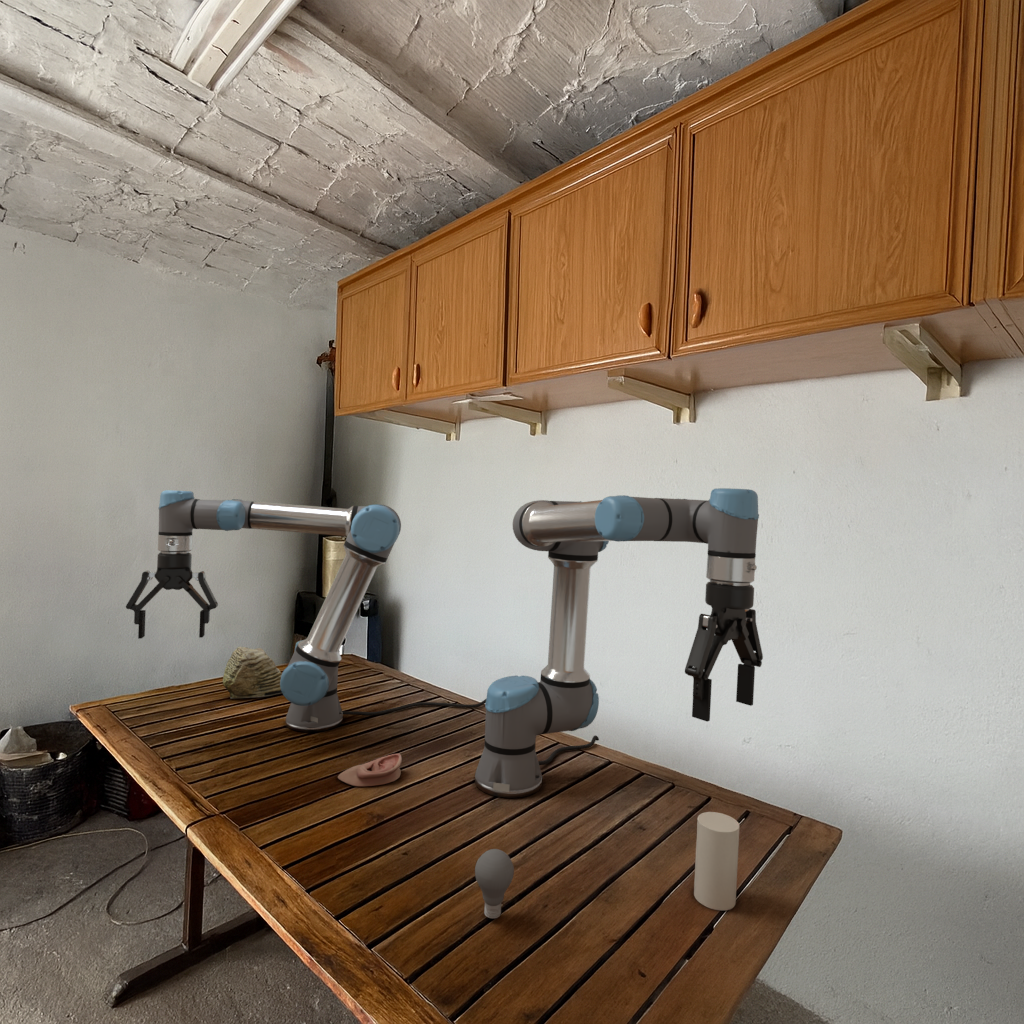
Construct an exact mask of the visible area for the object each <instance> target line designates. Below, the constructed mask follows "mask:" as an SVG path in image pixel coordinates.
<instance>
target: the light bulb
mask: <svg viewBox="0 0 1024 1024" xmlns="http://www.w3.org/2000/svg"><path fill="white" fill-rule="evenodd" d="M514 874H515V867H514V863H513V861H512V859H511V857H510V856H509V855H508V854H507V853H506V852H505V851H503V850H501V849H498V848H491V849H487V850H486V851H484V852H483V853H482V854H481V855H480V856H479V857H478V859H477V861H476V863H475V867H474V876H475V880H476V882H477V884H478V886H479V888H480V890H481V893H482V899H483V901H484V910H483V911H484V912H483V914H484V916H485V917H487V918H489V919H498V918H499V917H501V914H502V903H503V901H504V898H505V893H506V891H507V890H508V888H509V887H510V885H511V883H512V882H513V879H514V876H515V875H514Z"/></svg>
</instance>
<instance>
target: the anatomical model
mask: <svg viewBox="0 0 1024 1024" xmlns="http://www.w3.org/2000/svg"><path fill="white" fill-rule="evenodd" d="M402 761H403V757H402V754H400V753H393V754H389V755H385V756H382V757H378V758H376V759H373V760H371V761H368V762H364V763H362V764H358V765H354V766H352V767H349V768H347V769H346V770H344V771H342V772H340V773H339V774H338V776H337V779H338V780H339V781H341V782H343V783H345V784H346V785H349V786H350V785H351V786H353V787H372V786H380V785H385V784H390V783H393V782H395V781H397V780H398V779H399V778H400V776H401V775H402V773H401V772H402V771H401V768H400V767H401V765H402Z"/></svg>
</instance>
